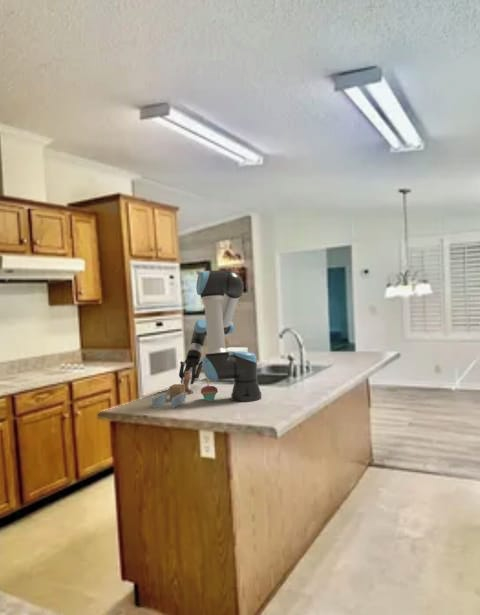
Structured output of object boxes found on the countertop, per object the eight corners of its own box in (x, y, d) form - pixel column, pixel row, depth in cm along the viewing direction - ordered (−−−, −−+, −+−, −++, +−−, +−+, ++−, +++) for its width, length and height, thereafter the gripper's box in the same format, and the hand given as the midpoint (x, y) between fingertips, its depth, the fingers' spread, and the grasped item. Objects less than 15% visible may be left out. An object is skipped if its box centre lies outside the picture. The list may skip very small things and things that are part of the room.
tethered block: (184, 391, 266) (183, 370, 265) (195, 392, 264) (194, 370, 264) (170, 400, 246) (168, 377, 246) (181, 400, 245) (180, 377, 244)
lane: (164, 401, 245) (164, 392, 245) (184, 401, 242) (184, 392, 242) (152, 408, 232) (152, 398, 232) (173, 408, 229) (173, 399, 229)
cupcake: (198, 399, 246) (197, 375, 246) (214, 397, 250) (213, 373, 249) (204, 402, 238) (203, 378, 238) (220, 400, 242) (219, 376, 241)
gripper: (210, 357, 275) (201, 392, 259) (183, 357, 279) (173, 392, 263) (206, 348, 269) (198, 384, 254) (179, 349, 273) (169, 384, 258)
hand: (185, 388), depth 259 cm, fingers closed on tethered block, 3 cm apart
